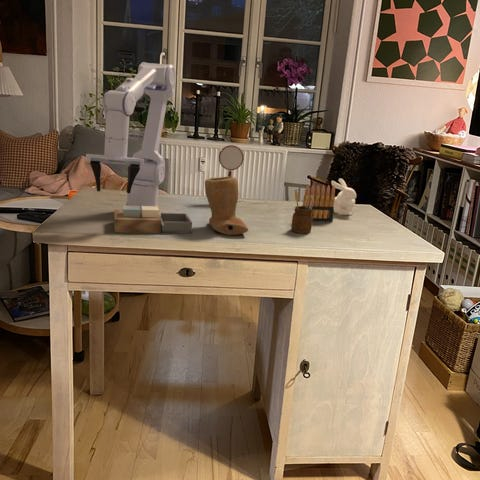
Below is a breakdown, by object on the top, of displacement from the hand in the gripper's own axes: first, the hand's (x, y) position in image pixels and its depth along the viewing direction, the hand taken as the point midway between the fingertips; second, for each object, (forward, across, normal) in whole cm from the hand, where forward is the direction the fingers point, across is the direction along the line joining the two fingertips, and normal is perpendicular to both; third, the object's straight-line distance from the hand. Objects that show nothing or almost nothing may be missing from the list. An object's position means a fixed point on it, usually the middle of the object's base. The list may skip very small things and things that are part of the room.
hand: (113, 191), depth 132 cm
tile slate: (+6, +5, +2) cm, 8 cm away
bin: (+9, +17, +1) cm, 19 cm away
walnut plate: (+10, +7, +2) cm, 12 cm away
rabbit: (+5, +81, +18) cm, 83 cm away
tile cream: (+6, +10, +1) cm, 12 cm away
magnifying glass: (+5, +44, +33) cm, 55 cm away
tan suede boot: (+9, +31, -1) cm, 32 cm away
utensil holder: (+8, +54, -4) cm, 55 cm away
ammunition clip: (+6, +65, +7) cm, 66 cm away
